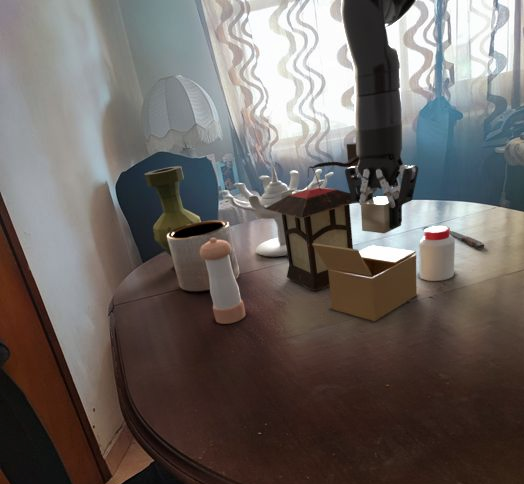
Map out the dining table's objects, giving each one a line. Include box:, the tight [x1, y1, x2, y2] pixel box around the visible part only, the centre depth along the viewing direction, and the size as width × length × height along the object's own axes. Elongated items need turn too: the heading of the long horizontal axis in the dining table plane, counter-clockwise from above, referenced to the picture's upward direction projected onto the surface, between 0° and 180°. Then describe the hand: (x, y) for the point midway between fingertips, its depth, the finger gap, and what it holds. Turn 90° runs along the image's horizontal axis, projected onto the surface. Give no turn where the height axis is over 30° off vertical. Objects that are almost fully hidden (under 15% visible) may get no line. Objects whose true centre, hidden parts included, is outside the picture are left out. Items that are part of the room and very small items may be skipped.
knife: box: [424, 226, 485, 249], centre depth 132 cm, size 28×1×5 cm
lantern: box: [265, 142, 359, 292], centre depth 116 cm, size 18×26×30 cm
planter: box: [167, 219, 240, 293], centre depth 131 cm, size 18×18×16 cm
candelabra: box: [219, 162, 334, 258], centre depth 144 cm, size 34×35×27 cm
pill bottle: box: [418, 225, 456, 282], centre depth 108 cm, size 8×8×11 cm
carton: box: [328, 244, 418, 322], centre depth 101 cm, size 15×12×10 cm
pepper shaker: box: [200, 238, 246, 325], centre depth 105 cm, size 7×7×19 cm
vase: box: [144, 165, 202, 271], centre depth 146 cm, size 16×16×30 cm
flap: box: [312, 243, 372, 276], centre depth 92 cm, size 7×12×1 cm
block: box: [360, 196, 402, 234], centre depth 83 cm, size 5×5×5 cm
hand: (381, 225), depth 84 cm, fingers closed on block, 5 cm apart
